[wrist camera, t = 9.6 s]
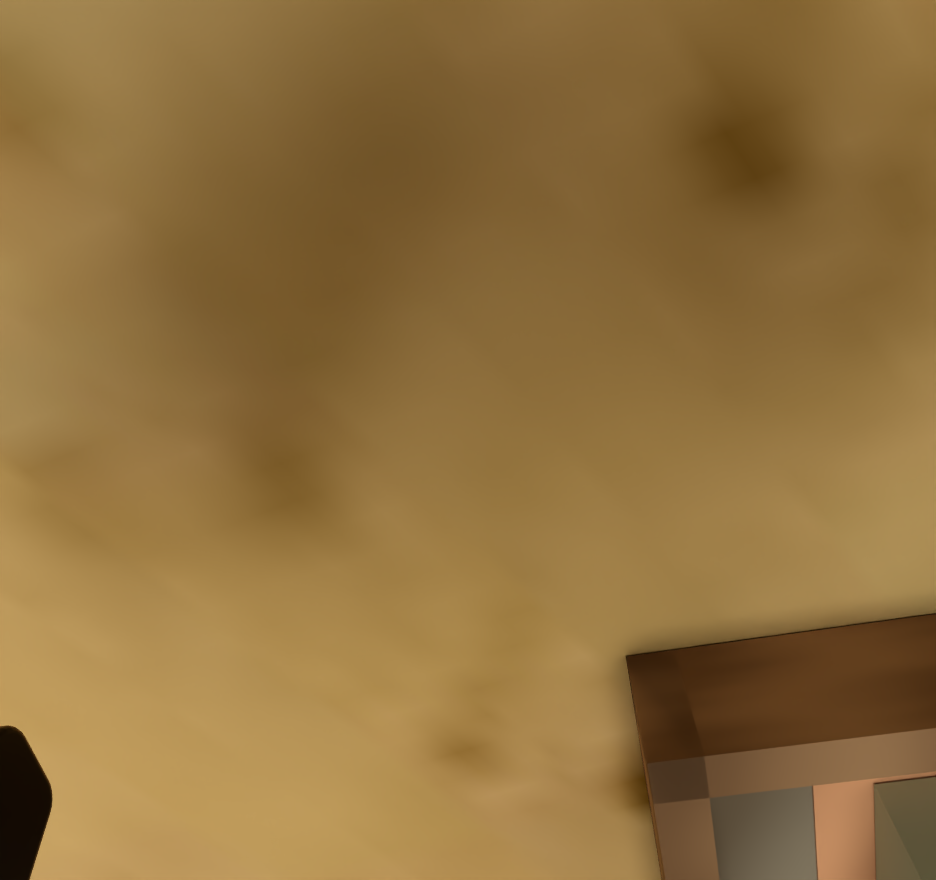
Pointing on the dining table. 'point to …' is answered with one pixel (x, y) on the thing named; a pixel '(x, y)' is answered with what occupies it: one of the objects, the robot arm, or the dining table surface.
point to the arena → (783, 747)
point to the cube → (905, 829)
